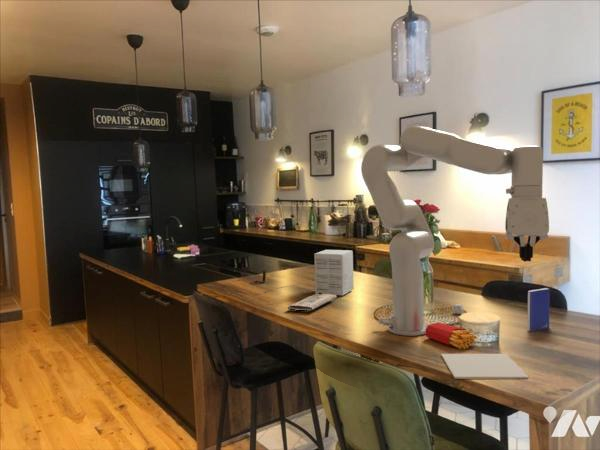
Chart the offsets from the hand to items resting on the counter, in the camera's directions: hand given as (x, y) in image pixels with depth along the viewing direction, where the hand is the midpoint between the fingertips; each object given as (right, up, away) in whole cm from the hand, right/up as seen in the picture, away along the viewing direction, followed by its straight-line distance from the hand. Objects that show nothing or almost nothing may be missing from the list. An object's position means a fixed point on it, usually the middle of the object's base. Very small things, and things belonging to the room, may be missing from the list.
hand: (525, 260), depth 135 cm
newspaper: (-57, -22, +61) cm, 87 cm away
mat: (-15, -26, -9) cm, 31 cm away
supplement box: (-46, -20, +84) cm, 98 cm away
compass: (-81, -19, +103) cm, 132 cm away
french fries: (-21, -22, +16) cm, 35 cm away
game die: (-5, -22, +43) cm, 48 cm away
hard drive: (+13, -23, +21) cm, 34 cm away
